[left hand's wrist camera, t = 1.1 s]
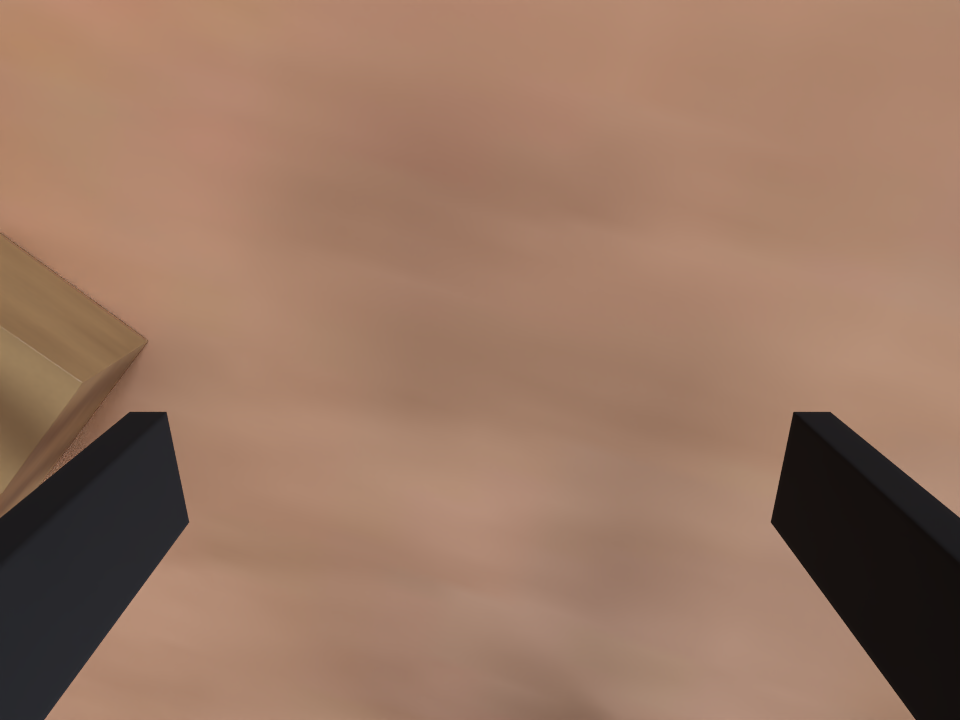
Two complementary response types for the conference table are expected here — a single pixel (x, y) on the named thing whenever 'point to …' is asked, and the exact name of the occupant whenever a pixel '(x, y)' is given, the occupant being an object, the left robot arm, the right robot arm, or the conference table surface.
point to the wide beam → (50, 368)
